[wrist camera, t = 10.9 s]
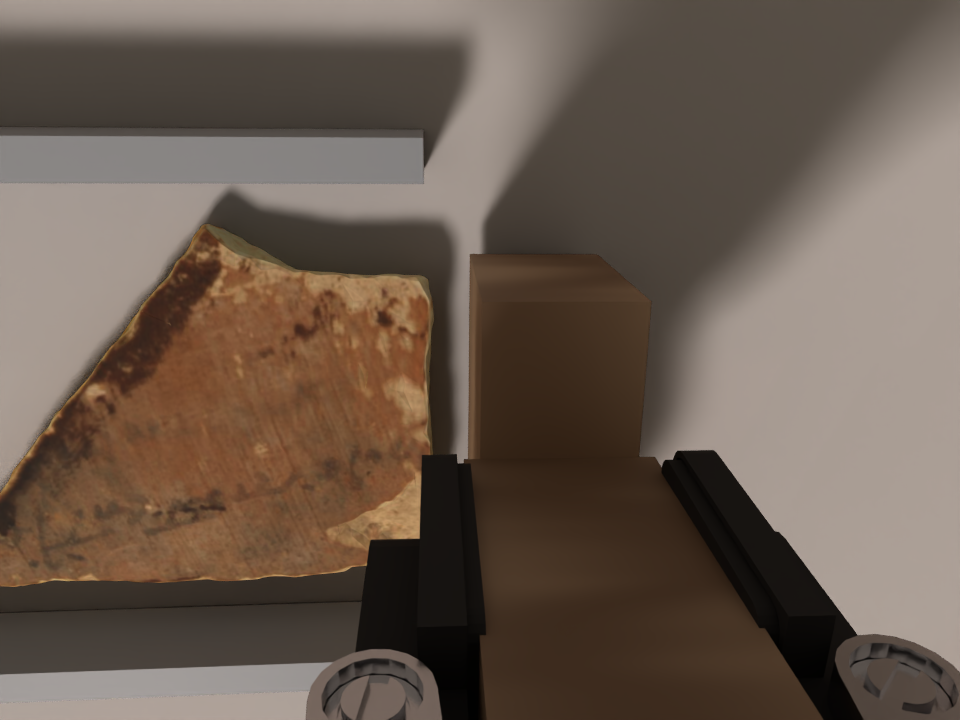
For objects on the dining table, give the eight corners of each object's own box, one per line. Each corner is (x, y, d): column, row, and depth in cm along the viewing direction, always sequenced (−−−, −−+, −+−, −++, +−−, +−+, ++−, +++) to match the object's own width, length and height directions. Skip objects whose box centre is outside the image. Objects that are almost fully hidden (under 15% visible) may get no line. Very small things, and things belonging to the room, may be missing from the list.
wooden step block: (609, 254, 15) (992, 563, 5) (587, 604, 18) (810, 1314, 7) (457, 254, 15) (510, 574, 5) (455, 607, 18) (488, 1340, 7)
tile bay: (423, 129, 15) (423, 137, 13) (430, 625, 19) (431, 686, 17) (-333, 124, 14) (-450, 133, 12) (-157, 645, 18) (-225, 712, 16)
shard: (-35, 552, 18) (-83, 601, 16) (-123, 219, 15) (-191, 236, 14) (437, 536, 19) (439, 583, 17) (431, 214, 16) (431, 230, 14)
